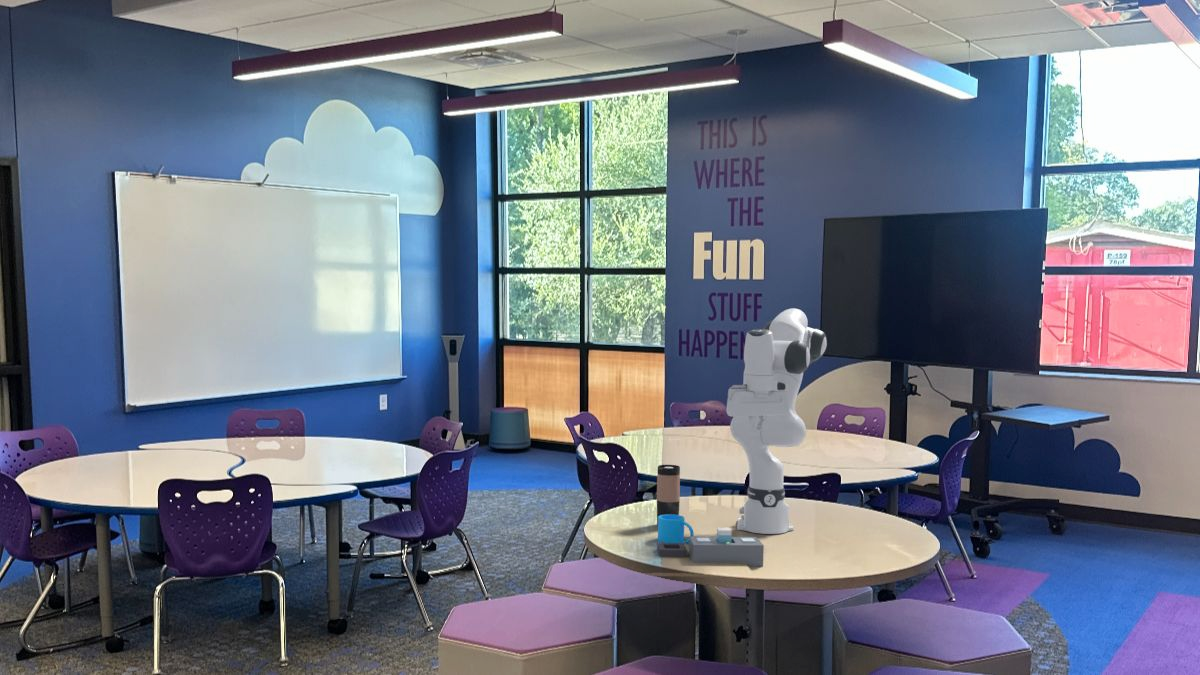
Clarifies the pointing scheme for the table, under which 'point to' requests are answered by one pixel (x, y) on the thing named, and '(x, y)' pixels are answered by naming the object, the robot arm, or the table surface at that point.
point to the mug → (672, 529)
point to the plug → (724, 535)
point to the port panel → (726, 550)
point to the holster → (672, 549)
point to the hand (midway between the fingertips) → (757, 431)
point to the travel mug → (668, 490)
